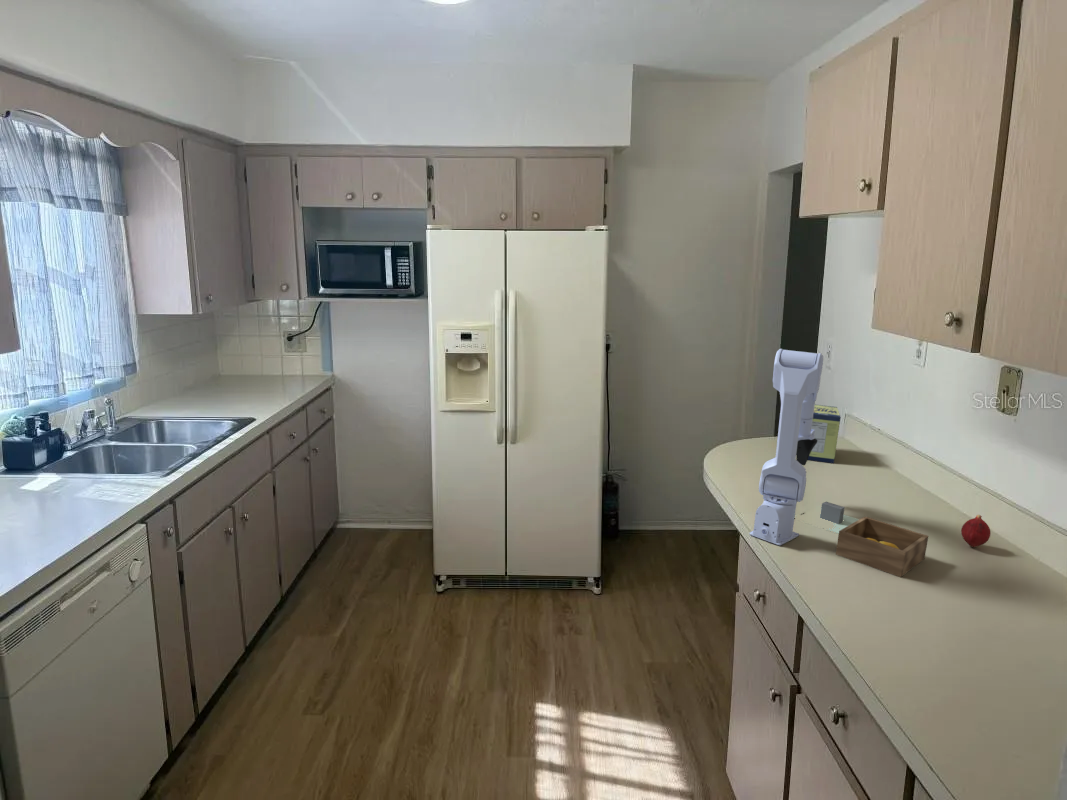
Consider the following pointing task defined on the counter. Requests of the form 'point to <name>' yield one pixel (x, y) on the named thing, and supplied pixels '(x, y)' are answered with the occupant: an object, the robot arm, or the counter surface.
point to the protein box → (825, 433)
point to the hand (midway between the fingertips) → (794, 467)
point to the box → (882, 546)
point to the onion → (975, 531)
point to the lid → (836, 516)
